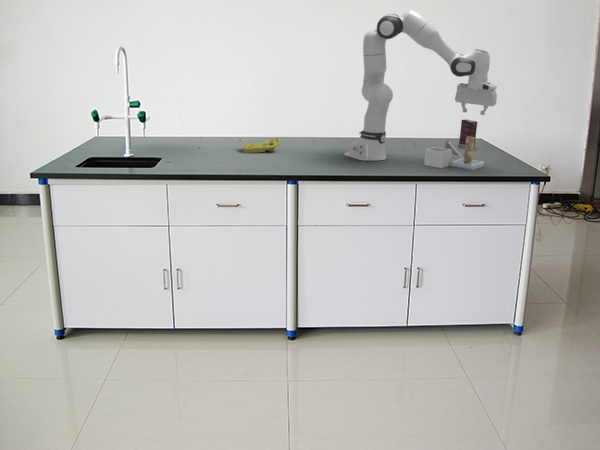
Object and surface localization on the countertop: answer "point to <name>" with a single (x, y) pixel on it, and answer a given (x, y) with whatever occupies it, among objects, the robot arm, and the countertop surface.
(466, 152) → the dowel
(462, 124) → the supplement box
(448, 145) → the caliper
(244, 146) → the plastic component
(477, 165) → the tray
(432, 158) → the white open box
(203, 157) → the countertop surface
